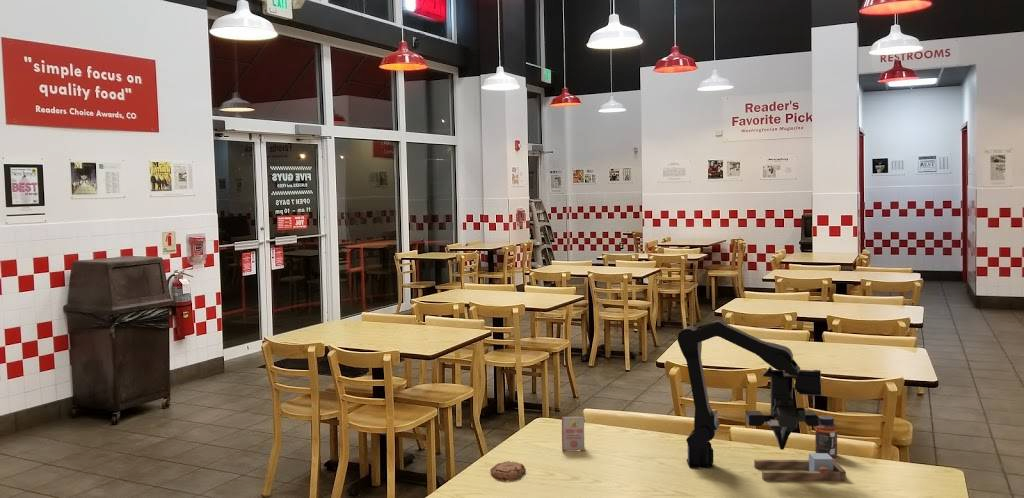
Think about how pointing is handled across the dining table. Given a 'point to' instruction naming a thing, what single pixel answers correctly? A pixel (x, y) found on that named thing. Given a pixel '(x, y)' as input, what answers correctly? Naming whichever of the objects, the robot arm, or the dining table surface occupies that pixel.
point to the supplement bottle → (826, 436)
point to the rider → (820, 461)
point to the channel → (820, 475)
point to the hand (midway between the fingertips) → (781, 449)
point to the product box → (572, 433)
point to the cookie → (508, 470)
